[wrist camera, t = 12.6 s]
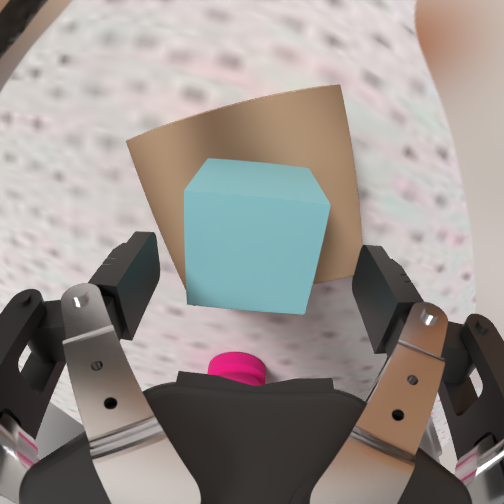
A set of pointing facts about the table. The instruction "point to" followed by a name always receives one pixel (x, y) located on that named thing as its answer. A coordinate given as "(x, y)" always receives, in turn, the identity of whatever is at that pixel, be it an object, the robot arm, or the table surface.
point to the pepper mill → (238, 368)
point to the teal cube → (253, 235)
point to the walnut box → (259, 150)
